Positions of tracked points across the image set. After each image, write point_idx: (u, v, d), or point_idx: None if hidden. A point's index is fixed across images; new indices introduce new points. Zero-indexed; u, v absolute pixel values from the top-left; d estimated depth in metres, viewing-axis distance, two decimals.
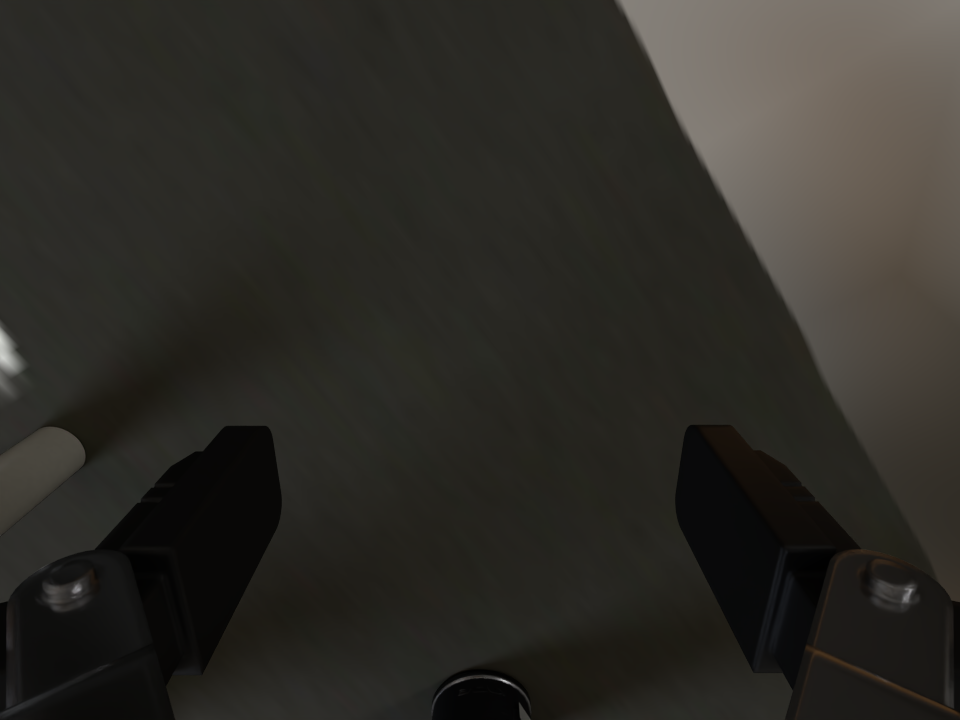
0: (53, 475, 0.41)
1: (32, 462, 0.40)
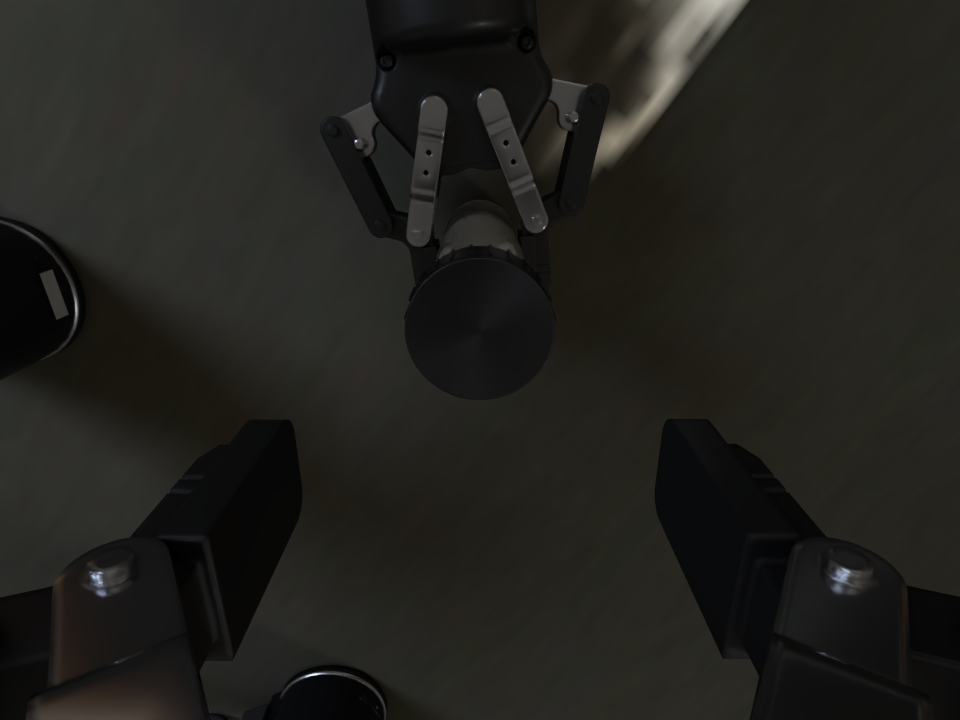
0: None
1: None
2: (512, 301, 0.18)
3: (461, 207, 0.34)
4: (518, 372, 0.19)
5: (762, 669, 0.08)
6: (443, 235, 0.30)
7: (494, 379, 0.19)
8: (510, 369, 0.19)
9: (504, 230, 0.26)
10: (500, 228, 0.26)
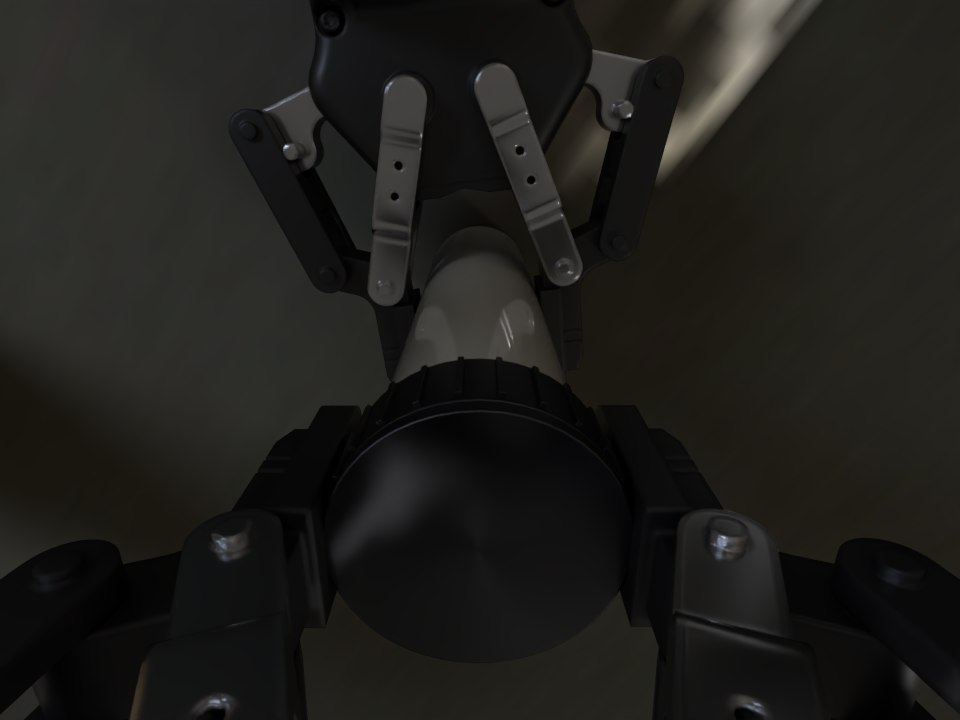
0: None
1: None
2: (547, 493, 0.09)
3: (453, 238, 0.24)
4: (556, 618, 0.10)
5: (658, 633, 0.08)
6: None
7: (508, 630, 0.10)
8: (540, 613, 0.09)
9: (517, 288, 0.17)
10: (511, 285, 0.17)
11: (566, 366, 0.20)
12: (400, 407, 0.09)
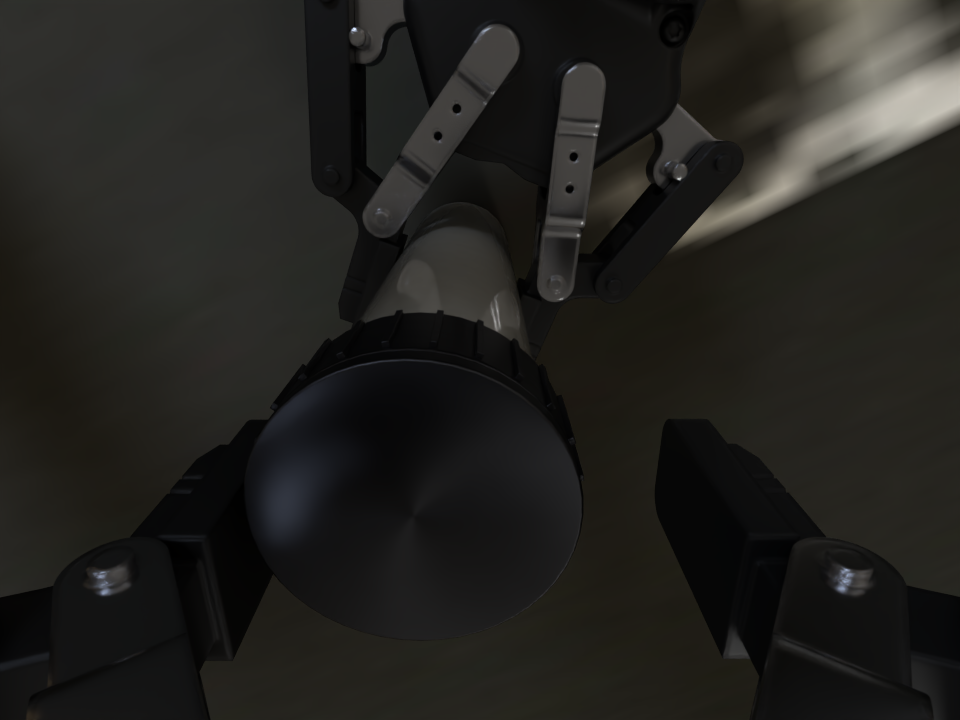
0: None
1: None
2: (406, 426, 0.08)
3: (455, 206, 0.24)
4: (546, 519, 0.08)
5: (762, 669, 0.08)
6: (416, 234, 0.20)
7: (519, 561, 0.09)
8: (527, 526, 0.08)
9: (512, 281, 0.16)
10: (508, 275, 0.16)
11: None
12: None
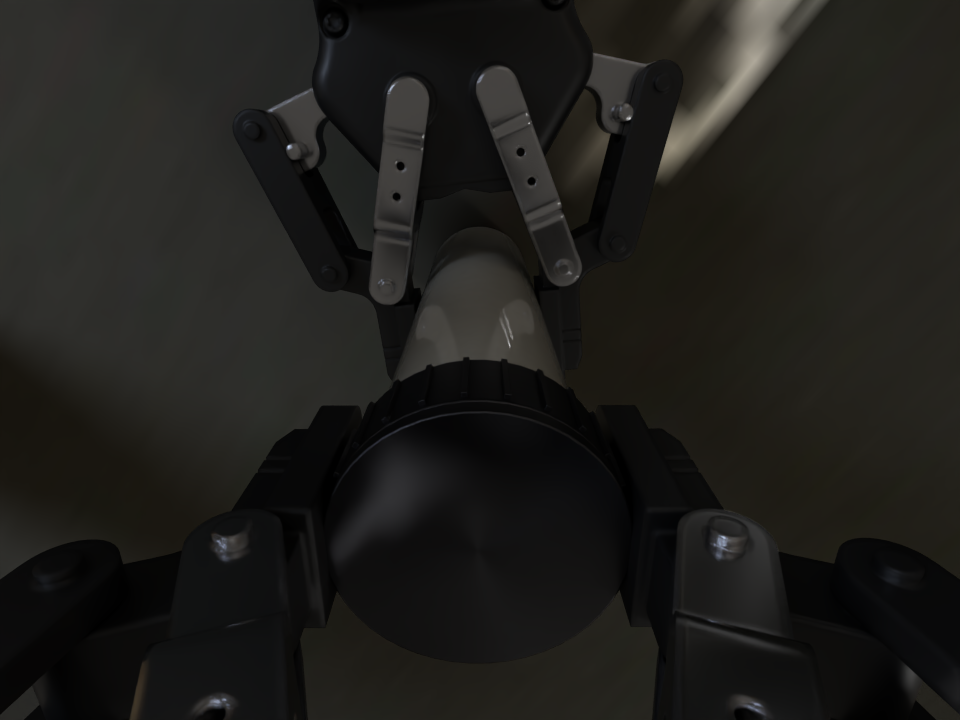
0: None
1: None
2: (431, 480, 0.09)
3: (453, 238, 0.25)
4: (591, 507, 0.09)
5: (658, 633, 0.08)
6: (426, 283, 0.21)
7: (589, 552, 0.09)
8: (578, 519, 0.09)
9: (517, 288, 0.17)
10: (511, 285, 0.17)
11: (565, 366, 0.21)
12: None
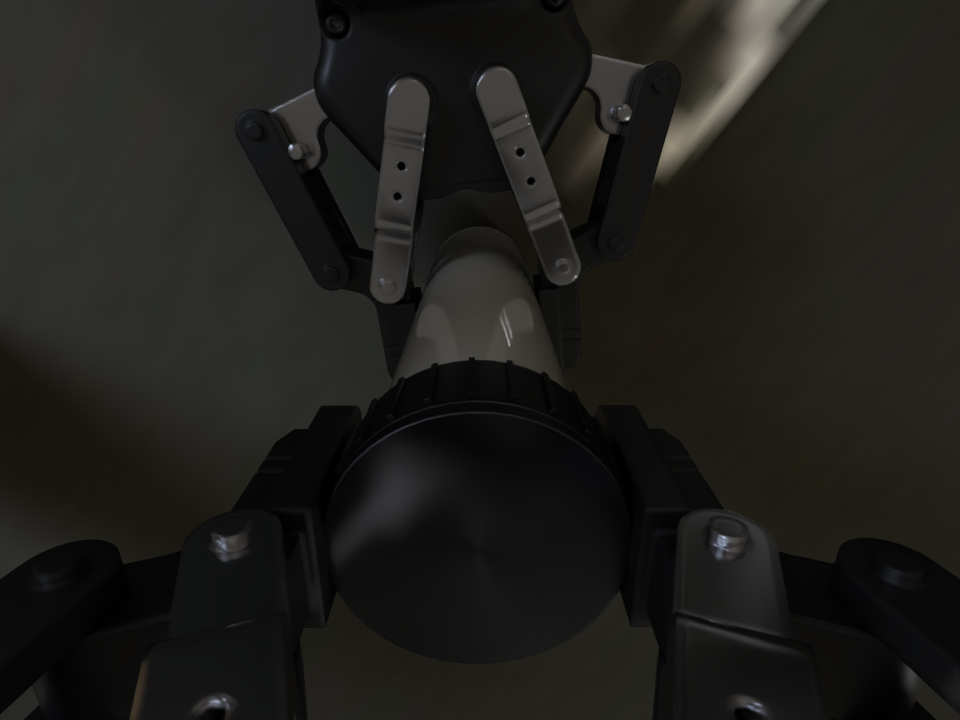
0: None
1: None
2: (386, 564, 0.09)
3: (454, 238, 0.25)
4: (459, 445, 0.08)
5: (658, 633, 0.08)
6: None
7: (514, 459, 0.08)
8: (470, 459, 0.08)
9: (517, 287, 0.17)
10: (510, 284, 0.17)
11: (564, 364, 0.21)
12: None
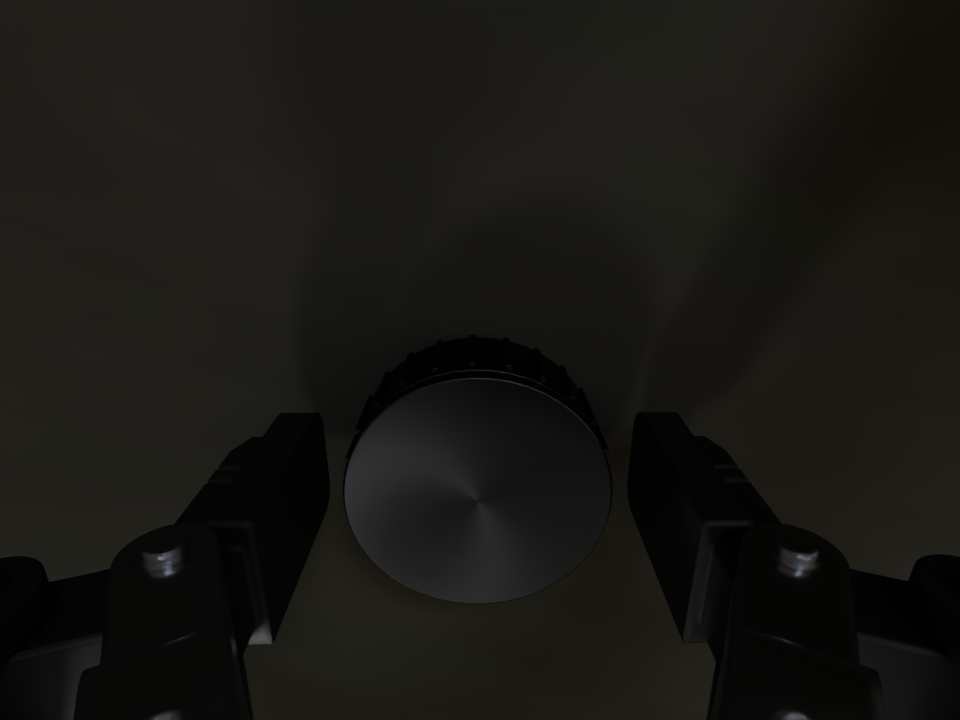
0: None
1: None
2: (398, 513, 0.10)
3: None
4: (462, 407, 0.10)
5: (717, 651, 0.08)
6: None
7: (509, 420, 0.10)
8: (471, 420, 0.10)
9: None
10: None
11: None
12: None
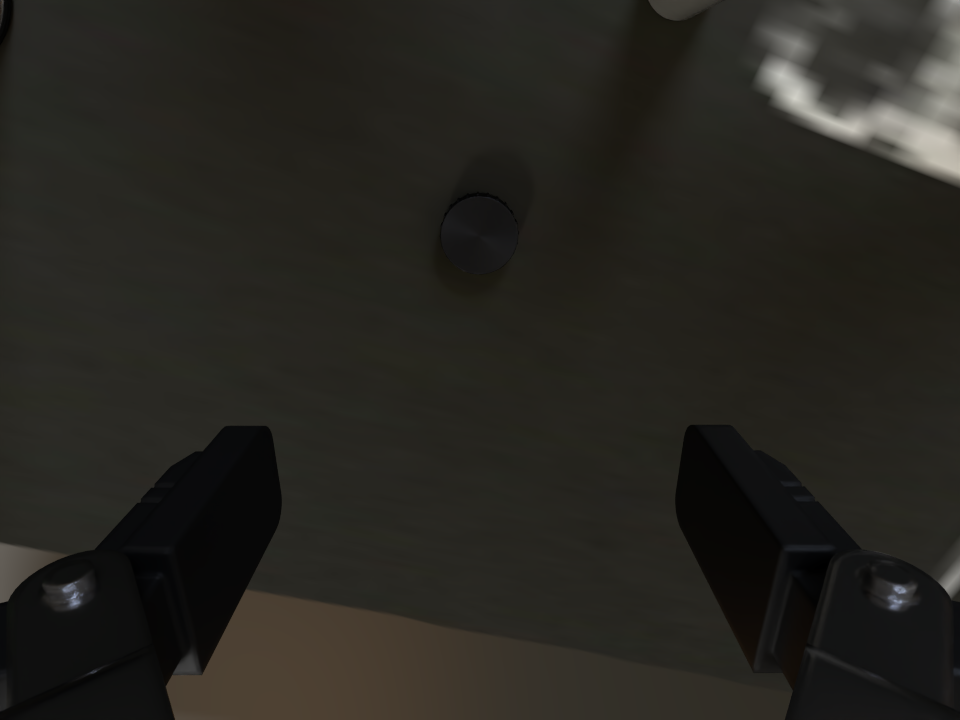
0: None
1: (699, 6, 0.30)
2: (456, 240, 0.36)
3: None
4: (475, 205, 0.36)
5: None
6: None
7: (488, 209, 0.36)
8: (477, 209, 0.36)
9: None
10: None
11: None
12: None
